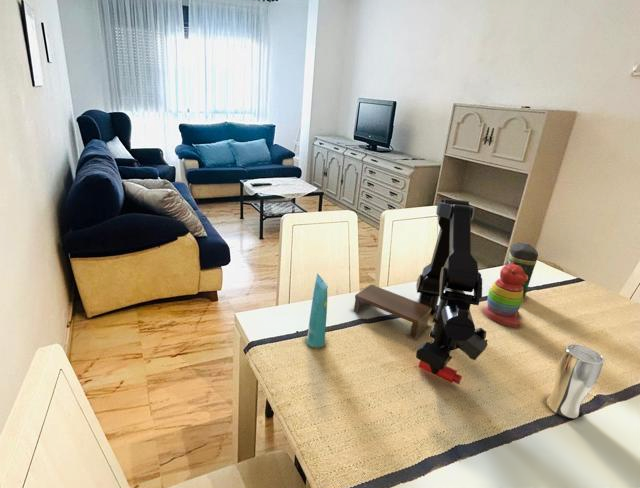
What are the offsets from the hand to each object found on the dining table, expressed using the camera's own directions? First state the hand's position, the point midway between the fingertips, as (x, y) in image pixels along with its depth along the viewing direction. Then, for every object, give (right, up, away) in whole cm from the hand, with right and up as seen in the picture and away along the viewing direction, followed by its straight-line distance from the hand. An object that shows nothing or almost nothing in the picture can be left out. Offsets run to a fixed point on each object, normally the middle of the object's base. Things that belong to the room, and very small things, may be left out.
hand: (437, 370), depth 94 cm
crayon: (0, -1, 0) cm, 1 cm away
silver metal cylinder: (+25, -6, -7) cm, 27 cm away
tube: (-29, +4, +11) cm, 31 cm away
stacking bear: (+32, +7, +28) cm, 43 cm away
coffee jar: (+44, +12, +43) cm, 62 cm away
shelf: (-5, +8, +24) cm, 26 cm away
